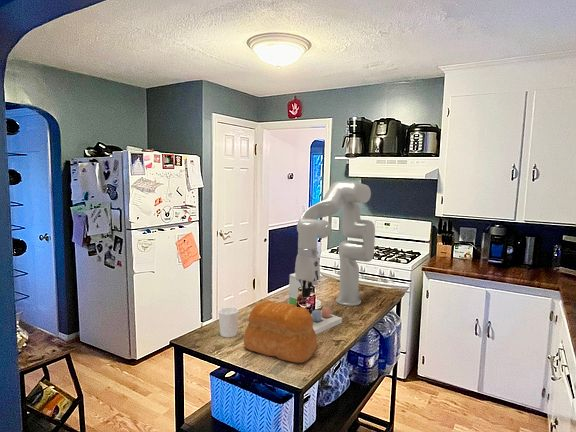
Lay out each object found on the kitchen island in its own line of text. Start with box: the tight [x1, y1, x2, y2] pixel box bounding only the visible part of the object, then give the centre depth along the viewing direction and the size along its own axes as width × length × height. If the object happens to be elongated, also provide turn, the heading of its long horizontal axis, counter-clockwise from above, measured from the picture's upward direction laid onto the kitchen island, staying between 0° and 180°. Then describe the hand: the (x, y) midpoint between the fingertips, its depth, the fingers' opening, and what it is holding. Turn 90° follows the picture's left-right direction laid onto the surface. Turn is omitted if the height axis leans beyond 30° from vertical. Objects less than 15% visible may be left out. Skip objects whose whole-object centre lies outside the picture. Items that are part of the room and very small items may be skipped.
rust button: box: [321, 306, 332, 319], centre depth 168 cm, size 4×4×4 cm
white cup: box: [218, 306, 239, 338], centre depth 157 cm, size 8×8×10 cm
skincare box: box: [287, 272, 301, 306], centre depth 190 cm, size 8×7×16 cm
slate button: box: [311, 309, 322, 323], centre depth 163 cm, size 4×4×4 cm
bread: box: [243, 300, 318, 364], centre depth 144 cm, size 16×26×17 cm, turn 61°
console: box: [310, 310, 343, 335], centre depth 164 cm, size 20×12×4 cm, turn 136°
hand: (306, 296), depth 157 cm, fingers closed
